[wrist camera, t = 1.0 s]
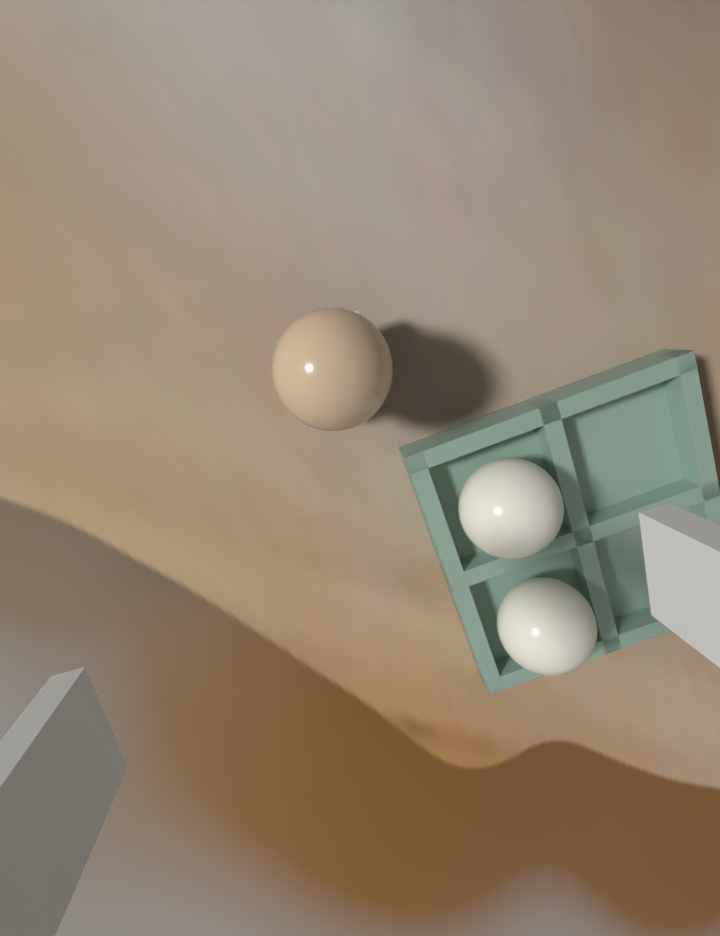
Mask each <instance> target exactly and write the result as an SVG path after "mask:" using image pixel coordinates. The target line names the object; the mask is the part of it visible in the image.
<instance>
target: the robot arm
mask: <svg viewBox="0 0 720 936" xmlns="http://www.w3.org/2000/svg"><path fill="white" fill-rule="evenodd" d="M639 520H640V528H641V536H642V544H643V553H644V561H645V569H646V577H647V585H648V593H649V601H650V609H651V615H652V616H653V617H654V618H656V619H657V620H658V621H660V622H661V623H662V624H664V625H665V626H666V627H667V628H669V629H670V630H671V631H673V632H674V633H675V634H677V635H678V636H679V637H680V638H682V639H683V640H684V641H686V642H687V643H688V644H690V645H691V646H692V647H693V648H695V649H696V650H697V651H699V652H700V653H701V654H703V655H704V656H705V657H706V658H708V659H709V660H710V661H712V662H713V663H714V664H716V665H717V666H718V667H720V525H719V524H716V523H714V522H712V521H709V520H707V519H704V518H702V517H700V516H697V515H695V514H693V513H690V512H688V511H685V510H683V509H681V508H678V507H676V506H674V505H671V504H667V505H663V506H659V507H656V508H652V509H649V510H645V511H641V512H639ZM127 767H128V763H127V761H126V759H125V757H124V754H123V752H122V750H121V748H120V745H119V743H118V741H117V738H116V736H115V734H114V732H113V729H112V727H111V725H110V722H109V720H108V718H107V716H106V713H105V711H104V709H103V706H102V704H101V702H100V700H99V697H98V695H97V693H96V690H95V688H94V686H93V684H92V682H91V679H90V677H89V675H88V672H87V670H86V668H85V667H83V668H80V669H76V670H72V671H69V672H65V673H61V674H58V675H54V676H51V677H50V679H49V680H48V682H46V684H45V685H44V686H43V688H42V689H41V690H40V691H39V693H38V694H37V695H36V697H35V698H34V699H33V700H32V701H31V703H30V704H29V706H28V707H27V708H26V709H25V710H24V712H23V713H22V714H21V715H20V717H19V718H18V719H17V721H16V722H15V723H14V724H13V726H12V727H11V728H10V729H9V731H8V732H7V733H6V734H5V736H4V737H3V738H2V740H1V741H0V936H55V934H56V932H57V930H58V927H59V925H60V922H61V920H62V918H63V915H64V913H65V911H66V909H67V906H68V904H69V902H70V899H71V897H72V895H73V893H74V890H75V888H76V885H77V883H78V881H79V879H80V876H81V874H82V872H83V869H84V867H85V865H86V863H87V860H88V858H89V856H90V853H91V851H92V849H93V846H94V844H95V842H96V839H97V837H98V835H99V833H100V830H101V828H102V825H103V823H104V821H105V819H106V816H107V814H108V812H109V809H110V807H111V804H112V802H113V800H114V798H115V796H116V793H117V791H118V788H119V786H120V784H121V782H122V779H123V777H124V775H125V772H126V770H127Z"/></svg>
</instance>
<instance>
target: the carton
mask: <svg viewBox="0 0 720 936" xmlns="http://www.w3.org/2000/svg"><path fill="white" fill-rule="evenodd" d="M399 450H400V453H401V455H402V458H403V461H404V464H405V467H406V469H407V472H408V475H409V478H410V481H411V483H412V486H413V489H414V492H415V495H416V497H417V500H418V503H419V506H420V509H421V511H422V514H423V517H424V520H425V523H426V525H427V528H428V531H429V534H430V537H431V539H432V542H433V545H434V548H435V551H436V553H437V556H438V559H439V562H440V565H441V567H442V570H443V573H444V576H445V579H446V581H447V584H448V587H449V590H450V593H451V595H452V598H453V601H454V604H455V607H456V609H457V612H458V615H459V618H460V621H461V623H462V626H463V629H464V632H465V635H466V637H467V640H468V643H469V646H470V649H471V651H472V654H473V657H474V660H475V663H476V665H477V668H478V671H479V673H480V675H481V678H482V680H483V682H484V684H485V687H486V689H487V691H488V694H489V695H490V694H493V693H496V692H499V691H502V690H504V689H507V688H510V687H513V686H516V685H519V684H521V683H524V682H527V681H530V680H533V679H536V678H539V677H541V676H544V675H539V674H536V673H533V672H531V671H529V670H526V669H525V668H523V667H522V666H520V665H519V664H517V663H516V662H515V661H514V660H513V659H512V658H511V657H510V656H509V654H508V653H507V652H506V650H505V649H504V647H503V645H502V643H501V640H500V638H499V635H498V630H497V613H498V609H499V606H500V603H501V601H502V599H503V598H504V596H505V595H506V593H507V592H508V591H509V590H510V589H511V588H512V587H514V586H515V585H516V584H518V583H520V582H522V581H524V580H527V579H530V578H535V577H548V578H554V579H557V580H560V581H563V582H565V583H567V584H569V585H571V586H572V587H574V588H575V589H576V590H577V591H579V592H580V593H581V594H582V595H583V596H584V598H585V599H586V600H587V602H588V603H589V605H590V606H591V608H592V610H593V612H594V615H595V619H596V623H597V640H596V644H595V647H594V650H593V652H592V654H591V656H590V657H589V658H588V660H590V659H593V658H596V657H599V656H601V655H604V654H607V653H610V652H613V651H616V650H619V649H621V648H624V647H627V646H630V645H633V644H636V643H638V642H641V641H644V640H647V639H650V638H653V637H656V636H658V635H661V634H664V633H667V632H670V631H671V630H670V629H669V628H667V627H666V626H665V625H664V624H662V623H661V622H660V621H658V620H657V619H656V618H654V617H653V616H652V615H651V609H650V601H649V593H648V585H647V577H646V569H645V561H644V553H643V544H642V536H641V528H640V520H639V512H641V511H645V510H649V509H652V508H656V507H659V506H663V505H667V504H671V505H674V506H676V507H678V508H681V509H683V510H685V511H688V512H690V513H693V514H695V515H697V516H700V517H702V518H704V519H707V520H709V521H712V522H714V523H716V524H719V525H720V489H719V483H718V478H717V472H716V467H715V461H714V456H713V450H712V445H711V439H710V434H709V428H708V423H707V417H706V412H705V407H704V401H703V396H702V390H701V385H700V379H699V374H698V368H697V363H696V357H695V352H694V351H691V350H672V349H663V350H661V351H658V352H655V353H652V354H650V355H647V356H644V357H642V358H639V359H636V360H634V361H631V362H628V363H626V364H623V365H620V366H618V367H615V368H612V369H609V370H607V371H604V372H601V373H599V374H596V375H593V376H591V377H588V378H585V379H583V380H580V381H577V382H575V383H572V384H569V385H566V386H564V387H561V388H558V389H556V390H553V391H550V392H548V393H545V394H542V395H540V396H537V397H534V398H531V399H529V400H526V401H523V402H521V403H518V404H515V405H513V406H510V407H507V408H505V409H502V410H499V411H497V412H494V413H491V414H488V415H486V416H483V417H480V418H478V419H475V420H472V421H470V422H467V423H464V424H462V425H459V426H456V427H454V428H451V429H448V430H445V431H443V432H440V433H437V434H435V435H432V436H429V437H427V438H424V439H421V440H419V441H416V442H413V443H411V444H408V445H405V446H402V447H400V448H399ZM502 458H518V459H523V460H527V461H530V462H532V463H534V464H536V465H538V466H540V467H541V468H543V469H544V470H545V471H546V472H547V473H548V474H549V475H550V476H551V477H552V478H553V479H554V481H555V482H556V484H557V485H558V487H559V489H560V492H561V494H562V498H563V503H564V517H563V522H562V525H561V528H560V530H559V532H558V534H557V536H556V537H555V539H554V540H553V541H552V542H551V544H550V545H548V546H547V547H546V548H545V549H544V550H542V551H541V552H539V553H537V554H535V555H533V556H531V557H527V558H523V559H513V560H509V559H502V558H497V557H494V556H491V555H489V554H487V553H485V552H484V551H482V550H481V549H479V548H478V547H477V546H476V545H474V544H473V543H472V541H471V540H470V539H469V538H468V537H467V535H466V533H465V532H464V530H463V527H462V525H461V522H460V518H459V511H458V503H459V497H460V493H461V490H462V488H463V486H464V484H465V482H466V481H467V479H468V478H469V477H470V475H471V474H472V473H473V472H474V471H475V470H477V469H478V468H479V467H481V466H482V465H484V464H486V463H488V462H490V461H494V460H497V459H502Z"/></svg>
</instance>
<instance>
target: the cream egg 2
mask: <svg viewBox="0 0 720 936" xmlns="http://www.w3.org/2000/svg"><path fill="white" fill-rule="evenodd" d="M497 630H498V635H499V638H500V640H501V643H502V645H503V647H504V649H505V650H506V652H507V653H508V654H509V656H510V657H511V658H512V659H513V660H514V661H515V662H516V663H517V664H519V665H520V666H522V667H523V668H525V669H526V670H529V671H531V672H533V673H536V674H539V675H545V676H559V675H564V674H568V673H570V672H573V671H574V670H576V669H578V668H579V667H581V666H582V665H583V664H584V663H585V662H586V661H587V660H588V658H589V657H590V656H591V654H592V652H593V650H594V647H595V644H596V640H597V623H596V619H595V615H594V612H593V610H592V608H591V606H590V605H589V603H588V602H587V600H586V599H585V598H584V596H583V595H582V594H581V593H580V592H579V591H577V590H576V589H575V588H574V587H572V586H571V585H569V584H567V583H565V582H563V581H560V580H557V579H554V578H548V577H535V578H530V579H527V580H524V581H522V582H520V583H518V584H516V585H515V586H514V587H512V588H511V589H510V590H509V591H508V592H507V593H506V595H505V596H504V598H503V599H502V601H501V603H500V606H499V609H498V613H497Z"/></svg>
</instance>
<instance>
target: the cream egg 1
mask: <svg viewBox="0 0 720 936" xmlns="http://www.w3.org/2000/svg"><path fill="white" fill-rule="evenodd" d="M458 511H459V518H460V522H461V525H462V527H463V530H464V532H465V533H466V535H467V537H468V538H469V539H470V540H471V541H472V543H473V544H474V545H476V546H477V547H478V548H479V549H481V550H482V551H484V552H485V553H487V554H489V555H491V556H494V557H497V558H502V559H509V560H513V559H523V558H527V557H531V556H533V555H535V554H537V553H539V552H541V551H542V550H544V549H545V548H546V547H547V546H548V545H550V544H551V542H552V541H553V540H554V539H555V537H556V536H557V534H558V532H559V530H560V528H561V525H562V522H563V517H564V503H563V498H562V494H561V492H560V489H559V487H558V485H557V484H556V482H555V481H554V479H553V478H552V477H551V476H550V475H549V474H548V473H547V472H546V471H545V470H544V469H543V468H541V467H540V466H538V465H536V464H534V463H532V462H530V461H527V460H523V459H518V458H502V459H497V460H494V461H490V462H488V463H486V464H484V465H482V466H481V467H479V468H478V469H477V470H475V471H474V472H473V473H472V474H471V475H470V477H469V478H468V479H467V481H466V482H465V484H464V486H463V488H462V490H461V493H460V497H459V503H458Z"/></svg>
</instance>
